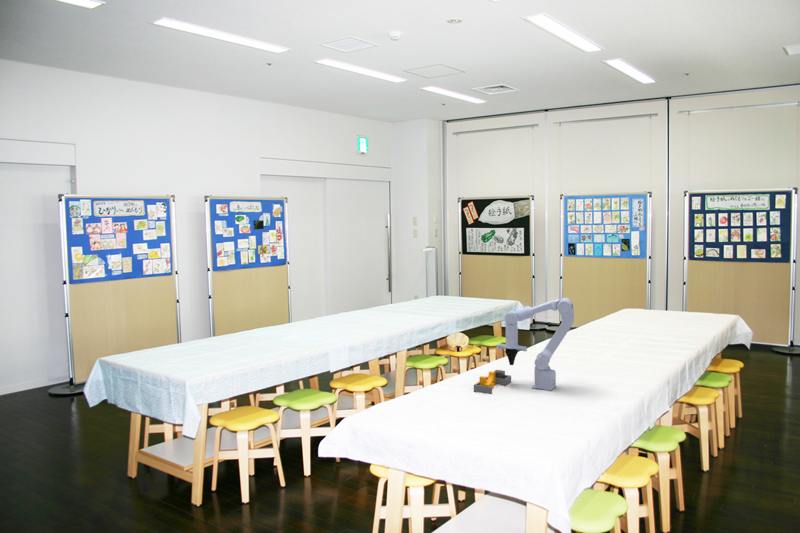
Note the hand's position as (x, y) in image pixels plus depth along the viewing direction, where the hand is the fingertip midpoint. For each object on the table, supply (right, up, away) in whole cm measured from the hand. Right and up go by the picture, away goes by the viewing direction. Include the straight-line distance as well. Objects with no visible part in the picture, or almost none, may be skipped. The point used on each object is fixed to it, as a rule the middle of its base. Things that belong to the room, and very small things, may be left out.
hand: (511, 364), depth 281 cm
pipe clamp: (-11, -11, -3) cm, 16 cm away
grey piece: (-9, -10, -2) cm, 14 cm away
